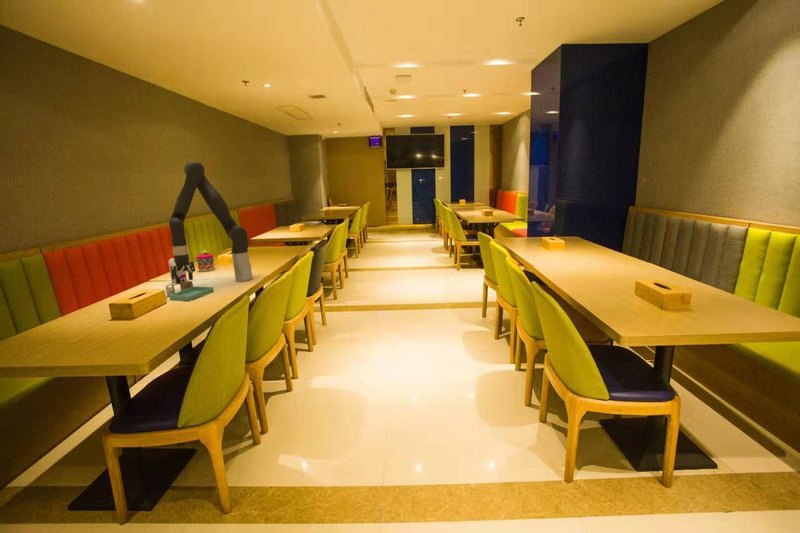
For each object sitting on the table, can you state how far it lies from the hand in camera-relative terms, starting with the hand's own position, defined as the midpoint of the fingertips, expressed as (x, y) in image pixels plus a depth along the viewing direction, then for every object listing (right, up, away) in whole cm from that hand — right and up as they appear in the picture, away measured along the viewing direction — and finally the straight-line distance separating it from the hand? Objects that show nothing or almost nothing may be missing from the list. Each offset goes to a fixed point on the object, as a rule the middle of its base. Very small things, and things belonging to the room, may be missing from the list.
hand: (185, 281), depth 230 cm
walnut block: (0, -5, +2) cm, 6 cm away
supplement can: (-14, -2, +21) cm, 25 cm away
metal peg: (-3, -8, -9) cm, 12 cm away
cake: (-12, +6, +51) cm, 52 cm away
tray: (+9, -7, -9) cm, 15 cm away
